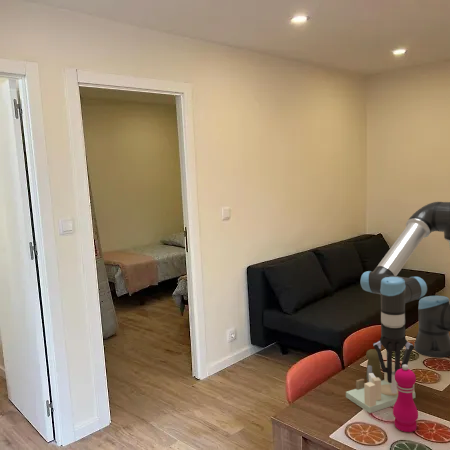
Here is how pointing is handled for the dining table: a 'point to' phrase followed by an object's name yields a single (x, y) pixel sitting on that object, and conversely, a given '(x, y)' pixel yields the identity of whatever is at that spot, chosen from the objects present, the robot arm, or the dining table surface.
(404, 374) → the pepper mill
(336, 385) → the dining table surface
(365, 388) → the stand
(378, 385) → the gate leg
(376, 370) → the pepper shaker
